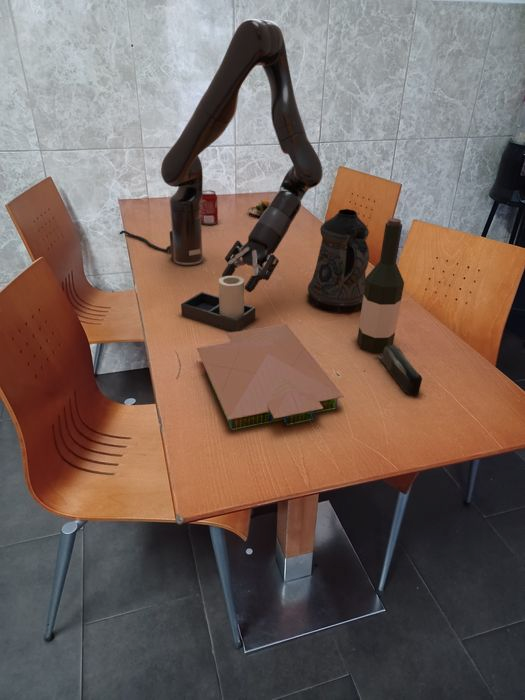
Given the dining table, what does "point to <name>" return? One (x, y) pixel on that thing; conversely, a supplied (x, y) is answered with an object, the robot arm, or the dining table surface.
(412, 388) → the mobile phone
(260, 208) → the plate of food
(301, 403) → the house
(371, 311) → the wine bottle
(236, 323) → the tray
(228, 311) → the jar
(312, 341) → the dining table surface
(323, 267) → the beer stein
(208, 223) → the soda can
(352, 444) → the dining table surface
